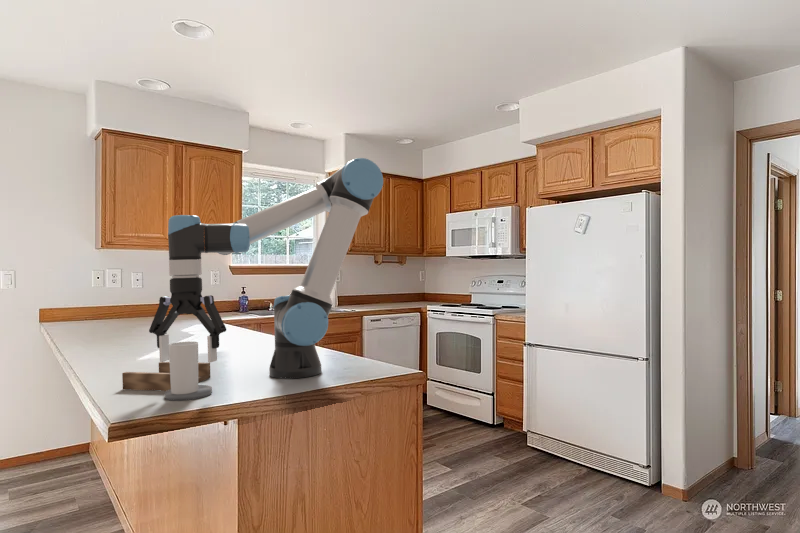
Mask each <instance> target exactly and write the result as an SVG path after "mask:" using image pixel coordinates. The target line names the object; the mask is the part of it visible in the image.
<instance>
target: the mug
mask: <svg viewBox="0 0 800 533" xmlns="http://www.w3.org/2000/svg"><path fill="white" fill-rule="evenodd" d="M168 362H170V382H171V393H172V394H177V395H181V394H189V393H194V392H196V391H198V385H199V382H198V362H199V342H197V341H178V342H177V341H176V342H173V343H169V360H168Z"/></svg>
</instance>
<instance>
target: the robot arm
mask: <svg viewBox="0 0 800 533" xmlns="http://www.w3.org/2000/svg"><path fill="white" fill-rule="evenodd" d="M383 186H384V177H383V173H382V171H381V168H380V167H379V165H378V164H376V163H375V162H374V161H373V160H371V159H369V158H367V157H366V158H365V157H358V158H354V159H351V160H348V161H347V162H346V163H345V164H344V165H343V166H341V167H340V168H339V169H338V170H336V172H334V173H333V174H331V175H330V176H329V177H326V178H325V179H323V180H321V181H320V182H317V183H315V187H313V188H311V189H309V190H307V191H304V192H302V193H298V194H297V195H294V196H293V197H290V198H288V199H285V200H283V201H281V202H279V203H276V204H274V205H271V206H269V207H267V208H264V209H262V210H260V211H257V212H256V213H253V214H250V215H248V216H246V217H244V218H241V219H239V220H237V221H234V222H232V223H204V222H203V223H202V221H201V218H200V216H198V215H194V214H193V215H192V214H191V215H190V214H179V215H177V214H175V215H172V216H170V218H169V219H168V225H167V227H168V229H167V231H168V232H167V241H168V267H169V268H168V274H169V276H170V277H171V278H170V279H169V292H170V293H171V296H168V295H166V296H160V297H159V300H158V301H159V303H158V307H157V310H156V312H155V314H154V317H153V319H152V322H151V324H150V327H149V330H148V332H149V334H153V335H156V347H157V349H159V362H168V361H169V344H170V340H169V339H170V337H169V336H170V335H169V334H168V333H167V332H168V331H169V329H170V328H171V327H172V325H173V323H174V322H175V321H176V320H177V319H178V316H179V315H193V316H195V317H196V318H197V319H198V321H199V323H201V324H202V326H203V327H204V328H205V330H206V331H207V332H208V333H209V334H208V335H207V363H213V362H217V361H218V352H217V351H218V348H219V347H220V335H221V334H222V333H225V332H227V327H226V325H225V324H224V320H223V319H222V317H221V315H220V313H219V310H218V309H217V306H216V304H215V298H214V296H213V295H204V296H203V295H202V291H203V278H202V277H200V276H201V275H202V270H203V269H202V254H219V255H223V256H227V255H230V254H233V253H234V254H239V253H247V252H249V250H250V248H251V245H252V244H254V243H256V242H259V241H260V240H263V239H265V238H267V237H270V236H272V235H274V234H277V233H278V232H281V231H283V230H285V229H288V228H291V227H292V226H294V225H297V224H299V223H302V222H303V221H306V220H308V219H310V218H313V217H315V216H317V215H319V214H323V213H324V212H328V216H327V218H326V220H325V223H324V225H323V228H322V229H321V232H320V234H319V237H318V240H317V243H316V246H315V248H314V251H313V252H312V255H311V258H310V260H309V263H308V266H307V267H306V270H305V273H304V275H303V278H302V280H301V283H300V284H299V285H298V286H296V287H294V288H292V290H291V293H290V295H282V296H277V297H275V298H274V300H273V306H272V309H273V314H274V315H273V316H274V318H273V319H274V320H273V321H274V322H273V323H274V325H273V326H274V328H273V329H274V350H273V354H272V358H271V361H270V364H269V372H268V373H269V376H270V377H272V378H275V379H302V378H308V377H314V376H317V375H319V374H321V373H322V364H321V363H322V362H321V360H320V358H319V355H318V352H317V349H316V344H317V343H318V342H320V341H321V340H322V339H323V338H324V337H325V335H326V333H327V331H328V329H329V328H328V327H329V315H330V312H331V310H332V307H333V304H334V303H333V301H332V299H331V294H332V292H333V289H334V286H335V284H336V282H337V279H338V277H339V273H340V271H341V269H342V266H343V263H344V260H345V258H346V256H347V253H348V251H349V248H350V246H351V243H352V240H353V238H354V235H355V233H356V230H357V227H358V225H359V223H360V220H361V218H362V217H363V216H366V215H368V214H369V212H370V209H371V206H372V204H373V202H374V199H375V198H376V197H378V195H379V194H380V193H381V191H382V190H383ZM202 304H203V305H204V307H203V306H202ZM170 305H171V306H172V307H171V309H170V310H169V307H170ZM168 310H169V311H168ZM206 312H207V313H206ZM167 313H168V314H167Z"/></svg>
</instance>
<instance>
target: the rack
mask: <svg viewBox="0 0 800 533" xmlns="http://www.w3.org/2000/svg"><path fill="white" fill-rule="evenodd" d="M121 374H122V390H123V389H131V391H134V390H135V391H155V390H161V391H162V392H163V391H164V392H166V391H167V390H169V389H171V382H170V362H169V361H163V362H160V361H159V362H158V372H148V371H147V372H145V371H125V372H122V373H121ZM210 378H211V362H199V361H198V383H200V382H203V381H206V380H208V379H210ZM161 391H160V392H161Z"/></svg>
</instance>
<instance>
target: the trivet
mask: <svg viewBox="0 0 800 533" xmlns="http://www.w3.org/2000/svg"><path fill="white" fill-rule="evenodd" d="M211 393H212V394H213V388H212V386H211V385H207V384H198V391H196V392H194V393H189V394H181V395H177V394H172V393H171V389H169V390H167V391H164V399H165V400H167V401H172V402H173V401H178V402H180V401H190V400H197V399H201V398H205V397H208V396H210V395H212V394H211Z"/></svg>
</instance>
